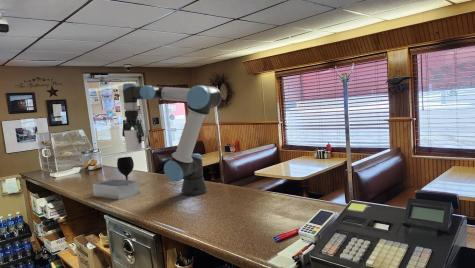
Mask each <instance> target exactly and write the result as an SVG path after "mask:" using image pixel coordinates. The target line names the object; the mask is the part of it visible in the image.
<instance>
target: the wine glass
mask: <svg viewBox="0 0 475 268" xmlns="http://www.w3.org/2000/svg"><path fill="white" fill-rule="evenodd" d="M116 163H117V164H116V166H117V167H116V169H117V170H118V171H119V173H120V174H122V175H123V176H125V180H128V179H129V177H128V176H129V175H130V174H131V173H132V172H133V169H134V166H135V165H134V164H135V163H134V159H133V157H132V156H122V157H118V158H117V162H116Z"/></svg>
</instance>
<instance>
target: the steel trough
mask: <svg viewBox="0 0 475 268" xmlns="http://www.w3.org/2000/svg"><path fill="white" fill-rule="evenodd" d="M92 191H93V197H96V198H102V199H108V200H109V199H110V200H115V201H121V200H124V199H127V198H130V197H133V196H137V195H140V193H141V192H140V182H139V180H126V179H118V178H113V179H109V180H104V181H99V182H97V183H93V184H92Z"/></svg>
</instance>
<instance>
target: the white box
mask: <svg viewBox="0 0 475 268" xmlns="http://www.w3.org/2000/svg"><path fill="white" fill-rule="evenodd" d="M137 131H138V130H134V128H133V129H131V131H126V130H124V134H125V137H124V142H125V149H126V151H127V152H137V151H142V149H137ZM142 143H143V142H142ZM142 143H141V144H142Z"/></svg>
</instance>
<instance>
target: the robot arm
mask: <svg viewBox="0 0 475 268" xmlns="http://www.w3.org/2000/svg"><path fill="white" fill-rule="evenodd" d="M122 94H123V95H122V97H123V110H125V111H124V117H125V118H126V119H123V120H122V133H121V135H122V137H124V138H125V134H124V130H126V131H131V130H132V128H133V129H134V130H138V131H137V149H141V150H142V149H143V146H142V144H141V143H143V141H142V140H143V139H142V138H143V137H144V136H145V134H144V128H143V124H142V121H143V120H142V119H138V117H139V111H138V100H163V101H166V100H167V101H177V102H186V103H187V110H188V114H187V117H186V119H185V123H184V127H183V129H182V132H181V136H180V139H179V141H178V144H177V148H176V151H175V152H173V153H171V157H170V159H169V160H168V161H166V162H165V163H164V166H163V172H164V174H165V177H166V178H167V179H168V180H169V181H171V182H180V181H182V180H183V181H182V185H181V190H180V191H181V193H180V194H181V195H183V196H198V195H202V194H205V193H207V192H208V186H207V184H206V182H205V179H204V172H203V171H204V169H203V156H202V155H201V154H200V153H194V149H195V146H196V143H197V141H198V138H199V134H200V132H201V128H202V125H203V124H204V123H203V122H204V119H205V117H207V116H208V115H209V114H210V112H211V109H214V108H216V107H218V106H219V105H220V104H221V101H222V100H223V99H222V98H223V96H222V92H221V91H220V89H219V88H218V87H216V86H212V85H211V86H210V85H202V84H200V85H199V84H198V85H195V86H192V87H190V88H187V87H174V86H173V87H172V86H170V87H169V86H156V85H155V86H154V85H153V86H152V85H148V84H147V85H146V84H145V85H138V86H137V83H134V82H131V83H130V82H128V83H123V84H122Z"/></svg>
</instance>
